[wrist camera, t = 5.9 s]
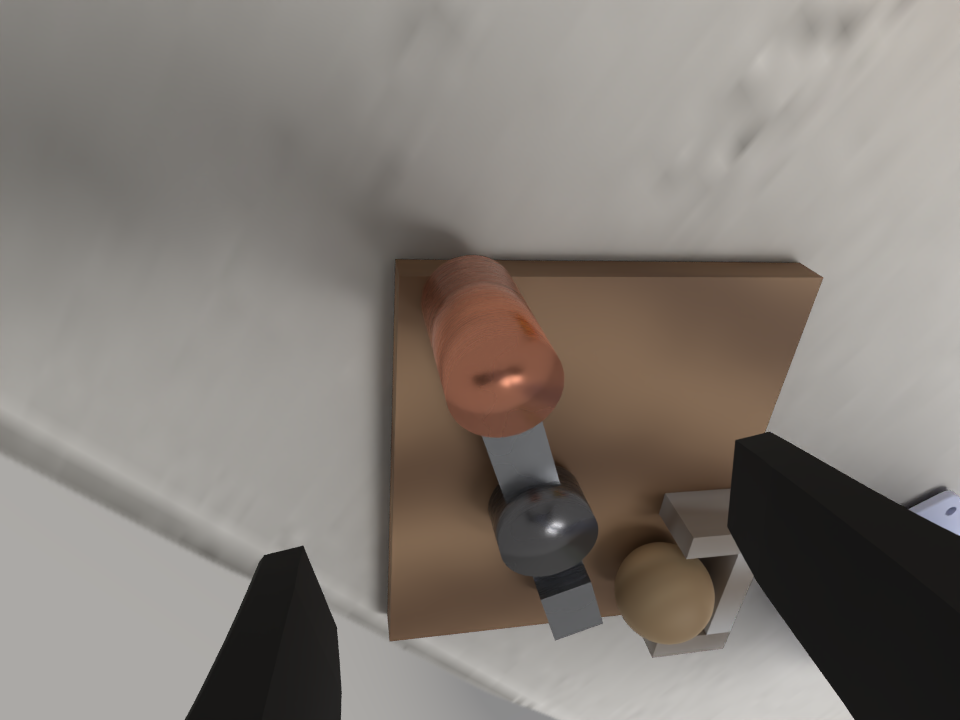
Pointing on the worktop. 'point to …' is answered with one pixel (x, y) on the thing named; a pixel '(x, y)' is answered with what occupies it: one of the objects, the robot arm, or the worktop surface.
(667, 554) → the tan ball
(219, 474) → the worktop surface
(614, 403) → the nutcracker base
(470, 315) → the lever
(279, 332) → the worktop surface
